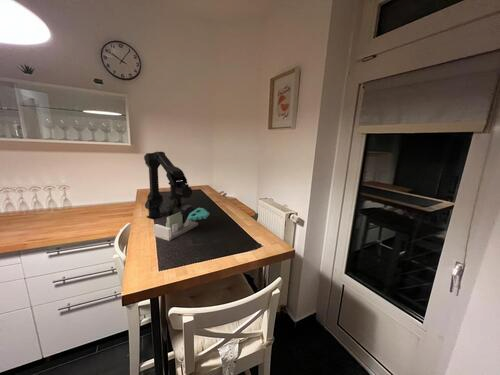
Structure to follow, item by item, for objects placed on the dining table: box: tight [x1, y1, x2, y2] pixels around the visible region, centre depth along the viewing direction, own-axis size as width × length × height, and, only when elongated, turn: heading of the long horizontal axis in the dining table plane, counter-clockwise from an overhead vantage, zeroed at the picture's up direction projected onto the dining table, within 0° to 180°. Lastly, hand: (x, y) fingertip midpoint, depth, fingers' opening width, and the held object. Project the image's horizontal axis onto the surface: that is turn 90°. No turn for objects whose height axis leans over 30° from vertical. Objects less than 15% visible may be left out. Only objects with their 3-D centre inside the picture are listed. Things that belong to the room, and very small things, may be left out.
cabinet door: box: [166, 211, 183, 232], centre depth 112 cm, size 3×12×8 cm, turn 155°
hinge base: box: [153, 218, 199, 242], centre depth 113 cm, size 10×22×6 cm, turn 155°
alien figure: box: [188, 207, 210, 222], centre depth 136 cm, size 20×2×20 cm
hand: (177, 221), depth 113 cm, fingers open, 9 cm apart
